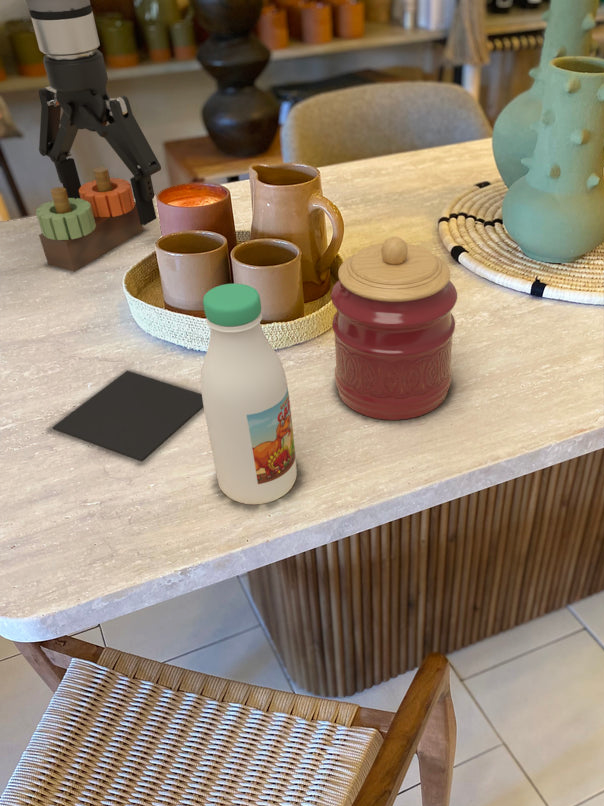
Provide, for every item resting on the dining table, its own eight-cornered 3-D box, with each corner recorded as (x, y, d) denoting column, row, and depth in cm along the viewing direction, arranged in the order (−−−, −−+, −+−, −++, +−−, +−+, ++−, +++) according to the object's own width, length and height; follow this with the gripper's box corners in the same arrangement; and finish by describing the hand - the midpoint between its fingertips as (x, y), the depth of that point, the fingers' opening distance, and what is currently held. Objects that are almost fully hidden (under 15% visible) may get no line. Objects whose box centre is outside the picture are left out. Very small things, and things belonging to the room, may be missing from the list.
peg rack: (74, 272, 108) (54, 201, 101) (48, 265, 110) (26, 195, 103) (144, 231, 118) (129, 164, 111) (118, 225, 119) (102, 159, 112)
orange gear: (74, 212, 112) (68, 191, 110) (107, 194, 117) (102, 174, 115) (112, 221, 110) (107, 200, 108) (144, 203, 114) (140, 182, 112)
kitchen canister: (449, 358, 91) (460, 212, 79) (450, 425, 82) (462, 270, 70) (341, 355, 92) (335, 209, 80) (329, 421, 82) (320, 267, 70)
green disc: (31, 234, 107) (24, 213, 105) (68, 215, 111) (62, 194, 109) (70, 244, 104) (64, 222, 102) (106, 224, 109) (101, 203, 107)
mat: (53, 430, 82) (52, 427, 81) (127, 373, 89) (127, 370, 89) (142, 462, 78) (141, 459, 77) (212, 400, 85) (211, 397, 85)
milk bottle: (231, 516, 72) (195, 327, 58) (209, 467, 77) (172, 283, 63) (308, 493, 74) (292, 306, 60) (282, 447, 79) (261, 265, 65)
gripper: (166, 55, 97) (195, 218, 112) (22, 36, 106) (67, 190, 120) (127, 69, 93) (163, 238, 107) (-20, 49, 101) (31, 208, 116)
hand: (112, 213), depth 114 cm, fingers open, 13 cm apart
